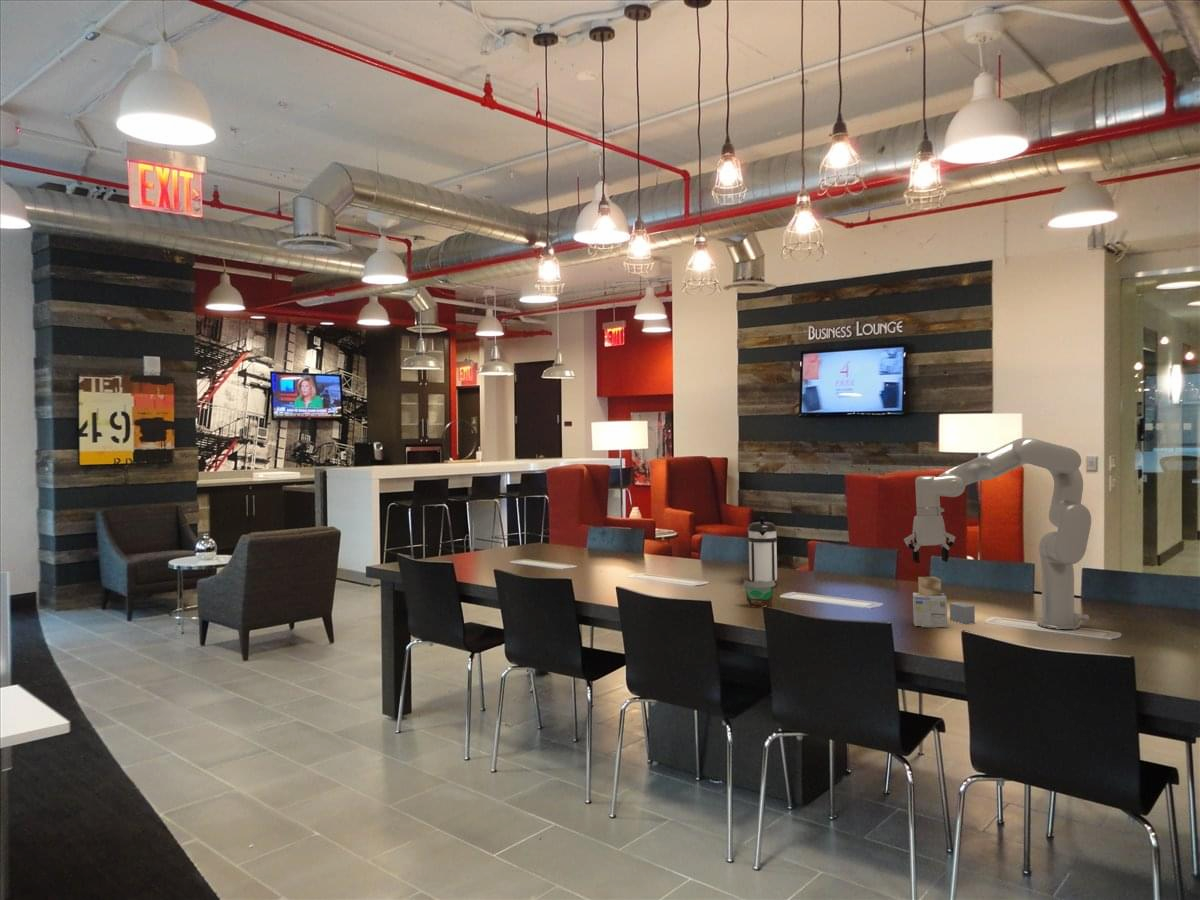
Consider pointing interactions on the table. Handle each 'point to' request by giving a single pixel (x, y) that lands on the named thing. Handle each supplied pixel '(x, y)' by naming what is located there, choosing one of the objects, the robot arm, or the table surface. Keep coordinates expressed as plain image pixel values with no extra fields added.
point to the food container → (759, 593)
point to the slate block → (962, 613)
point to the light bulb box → (930, 610)
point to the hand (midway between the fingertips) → (930, 561)
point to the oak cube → (929, 586)
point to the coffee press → (762, 551)
